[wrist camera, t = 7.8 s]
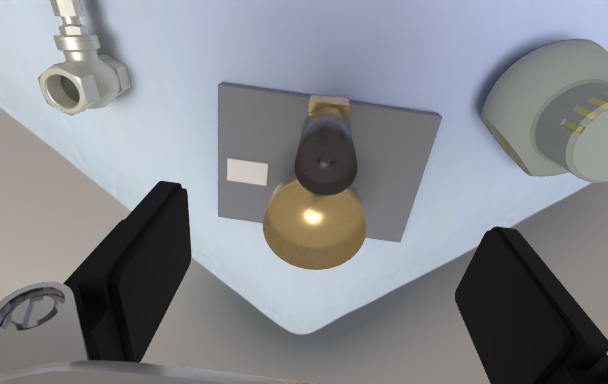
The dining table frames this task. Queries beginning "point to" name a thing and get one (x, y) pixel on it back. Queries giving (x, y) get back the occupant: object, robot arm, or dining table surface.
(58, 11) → the valve
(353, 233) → the brass knob with handle
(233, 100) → the post base
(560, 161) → the air freshener
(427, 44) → the dining table surface
